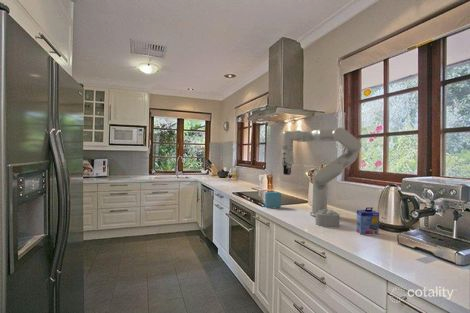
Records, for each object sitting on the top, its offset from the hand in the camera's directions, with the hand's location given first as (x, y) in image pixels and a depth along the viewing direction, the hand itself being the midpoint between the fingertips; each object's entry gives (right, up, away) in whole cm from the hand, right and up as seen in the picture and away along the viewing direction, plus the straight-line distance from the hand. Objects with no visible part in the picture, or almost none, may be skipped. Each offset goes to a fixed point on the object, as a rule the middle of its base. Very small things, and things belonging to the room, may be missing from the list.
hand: (287, 173), depth 172 cm
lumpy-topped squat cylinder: (+18, -29, -28) cm, 44 cm away
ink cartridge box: (+34, -30, -43) cm, 62 cm away
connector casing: (0, -1, 0) cm, 1 cm away
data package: (-8, -28, +17) cm, 34 cm away
